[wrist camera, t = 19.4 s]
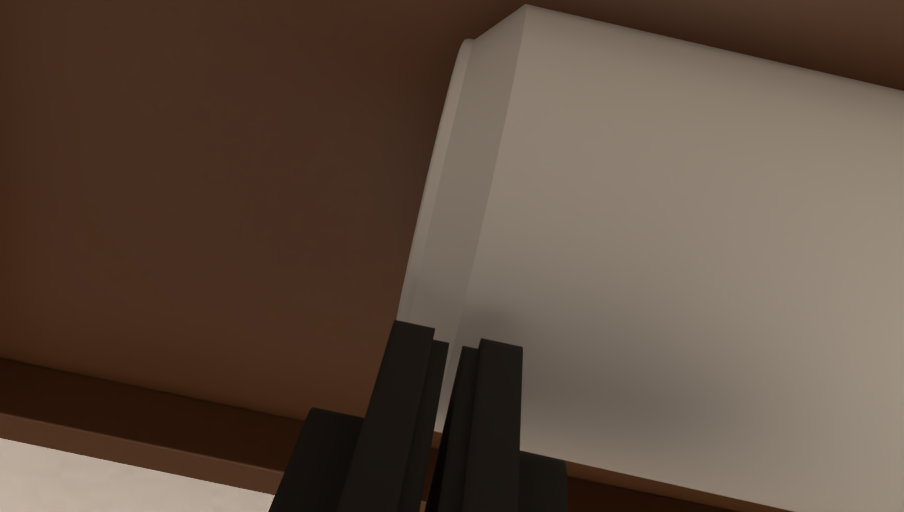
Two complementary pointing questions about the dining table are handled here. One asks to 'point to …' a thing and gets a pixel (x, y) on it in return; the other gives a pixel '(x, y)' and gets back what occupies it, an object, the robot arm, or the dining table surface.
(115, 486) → the dining table surface
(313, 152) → the tray
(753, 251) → the can
